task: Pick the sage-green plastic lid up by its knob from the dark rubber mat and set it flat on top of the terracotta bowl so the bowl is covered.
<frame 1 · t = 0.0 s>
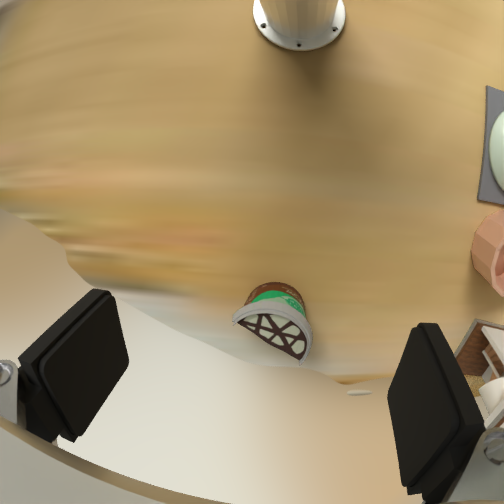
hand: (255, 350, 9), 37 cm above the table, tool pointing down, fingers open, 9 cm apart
food container: (285, 295, 50), on the table
bowl: (499, 245, 41), on the table
grey two-tier tower: (478, 346, 48), on the table
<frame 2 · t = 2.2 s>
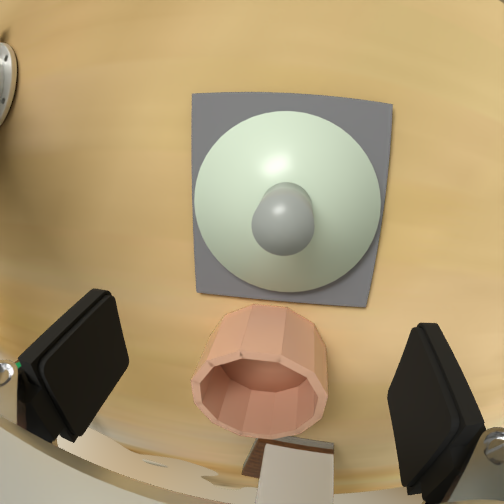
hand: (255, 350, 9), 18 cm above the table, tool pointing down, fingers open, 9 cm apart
lid: (287, 204, 26), point 1 cm above the table, touching mat
bowl: (266, 353, 32), on the table
mat: (287, 202, 26), on the table
grey two-tier tower: (285, 455, 40), on the table
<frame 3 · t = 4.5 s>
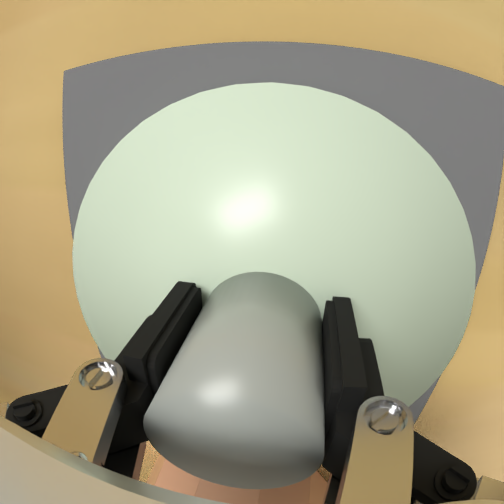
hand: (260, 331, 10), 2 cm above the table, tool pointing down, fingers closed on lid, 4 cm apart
lid: (265, 310, 11), point 1 cm above the table, touching gripper, mat
bowl: (240, 484, 18), on the table
mat: (267, 301, 12), on the table
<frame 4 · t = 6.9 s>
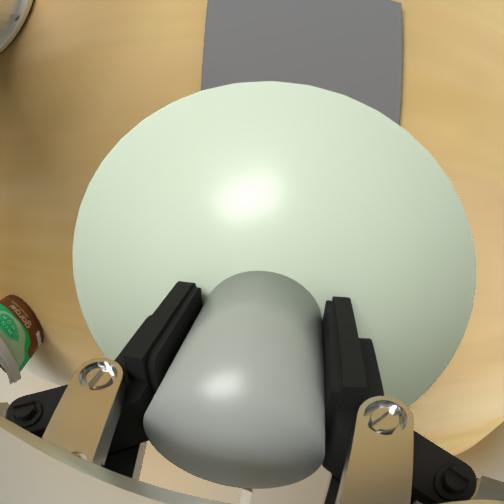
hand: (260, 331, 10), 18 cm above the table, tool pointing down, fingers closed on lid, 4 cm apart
food container: (25, 309, 38), on the table
lid: (265, 309, 11), point 16 cm above the table, touching gripper
mat: (301, 85, 22), on the table
grey two-tier tower: (291, 417, 36), on the table
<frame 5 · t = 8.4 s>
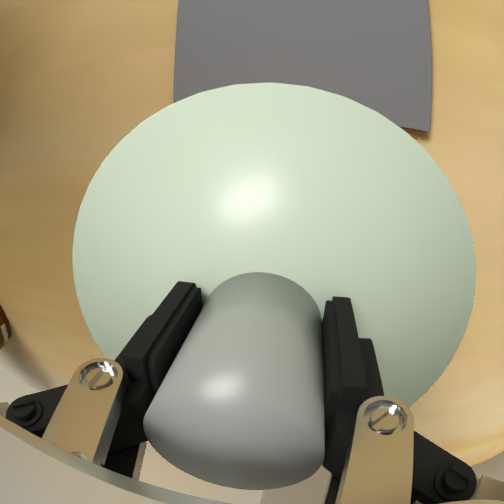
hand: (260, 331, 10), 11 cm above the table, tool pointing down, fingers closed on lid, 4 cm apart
lid: (265, 310, 11), point 10 cm above the table, touching gripper
grey two-tier tower: (304, 427, 28), on the table
when the fingers open (9 cm above the table, at t = 9.5 s): lid drops 1 cm, resting on bowl.
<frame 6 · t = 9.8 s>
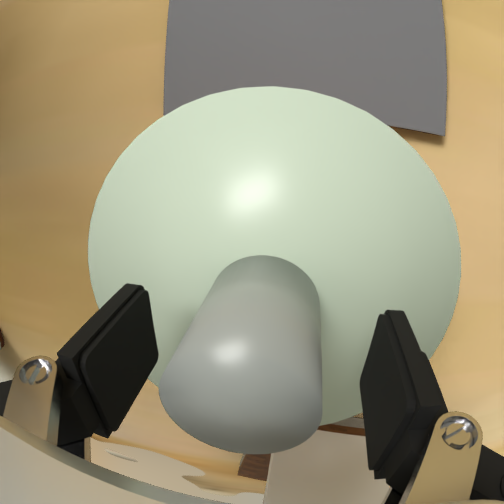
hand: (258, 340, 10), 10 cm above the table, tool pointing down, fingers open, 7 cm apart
lid: (267, 292, 12), point 7 cm above the table, touching bowl
grey two-tier tower: (305, 444, 26), on the table
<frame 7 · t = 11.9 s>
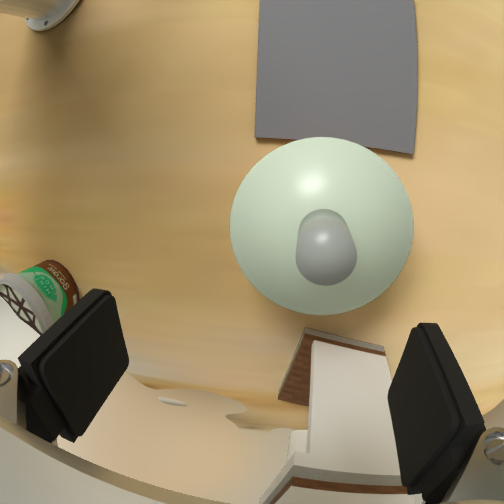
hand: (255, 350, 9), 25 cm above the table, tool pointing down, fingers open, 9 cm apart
food container: (61, 274, 42), on the table
lid: (322, 229, 25), point 7 cm above the table, touching bowl
mat: (339, 57, 26), on the table
grey two-tier tower: (329, 369, 39), on the table
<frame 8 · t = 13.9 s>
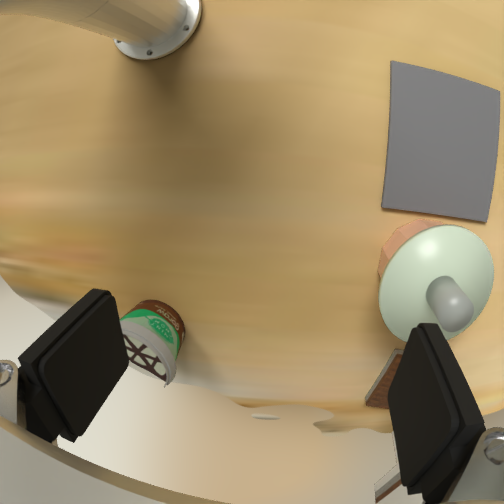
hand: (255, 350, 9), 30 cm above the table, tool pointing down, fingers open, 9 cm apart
food container: (165, 313, 48), on the table
lid: (438, 287, 31), point 7 cm above the table, touching bowl
bowl: (420, 263, 38), on the table
mat: (446, 143, 32), on the table
grey two-tier tower: (406, 378, 46), on the table
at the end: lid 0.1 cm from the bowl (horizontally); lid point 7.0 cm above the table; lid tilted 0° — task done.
